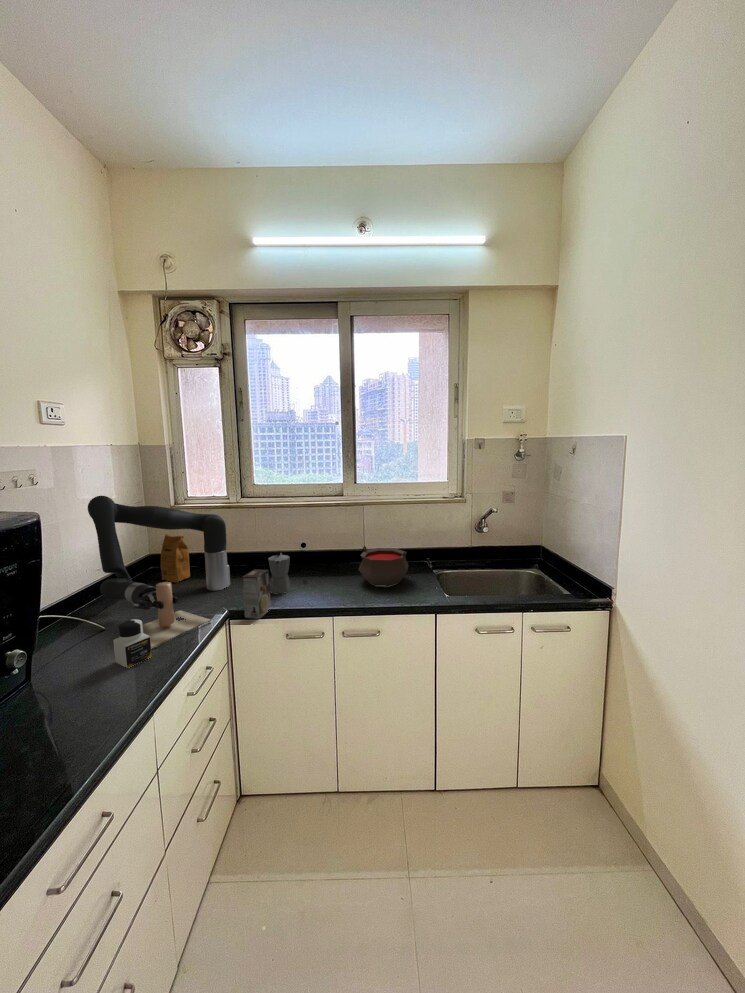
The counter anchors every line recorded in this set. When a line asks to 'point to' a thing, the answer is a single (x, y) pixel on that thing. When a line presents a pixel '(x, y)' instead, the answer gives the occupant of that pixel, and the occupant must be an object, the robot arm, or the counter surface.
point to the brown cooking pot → (383, 565)
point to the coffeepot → (279, 573)
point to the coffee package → (174, 559)
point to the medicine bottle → (131, 644)
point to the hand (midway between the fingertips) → (169, 603)
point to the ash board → (172, 627)
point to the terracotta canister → (165, 603)
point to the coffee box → (256, 593)
